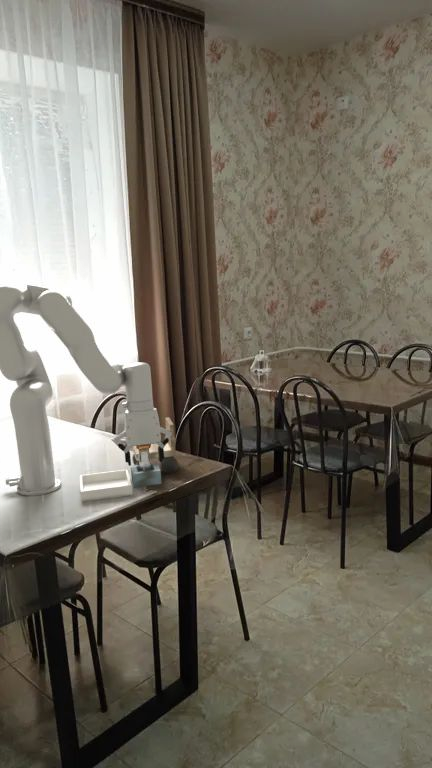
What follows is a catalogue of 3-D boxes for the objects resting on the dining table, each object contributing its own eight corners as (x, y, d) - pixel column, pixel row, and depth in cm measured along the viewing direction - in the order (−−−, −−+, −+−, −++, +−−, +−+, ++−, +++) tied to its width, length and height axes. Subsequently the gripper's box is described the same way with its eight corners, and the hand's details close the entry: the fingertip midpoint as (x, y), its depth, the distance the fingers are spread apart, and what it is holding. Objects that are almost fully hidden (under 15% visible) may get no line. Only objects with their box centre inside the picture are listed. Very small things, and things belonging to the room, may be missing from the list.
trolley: (134, 487, 182) (129, 437, 179) (128, 467, 201) (124, 421, 198) (183, 480, 185) (180, 431, 182) (173, 461, 204) (170, 416, 201)
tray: (81, 501, 174) (80, 491, 173) (80, 484, 187) (79, 475, 186) (132, 495, 176) (131, 484, 176) (128, 478, 190) (127, 469, 189)
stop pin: (139, 484, 184) (136, 446, 182) (138, 479, 189) (135, 442, 186) (154, 482, 185) (151, 445, 183) (152, 477, 190) (149, 440, 187)
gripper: (110, 411, 177) (116, 470, 180) (171, 404, 181) (176, 462, 184) (109, 405, 184) (114, 462, 188) (167, 399, 188) (172, 455, 191)
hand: (145, 462), depth 186 cm, fingers open, 8 cm apart
